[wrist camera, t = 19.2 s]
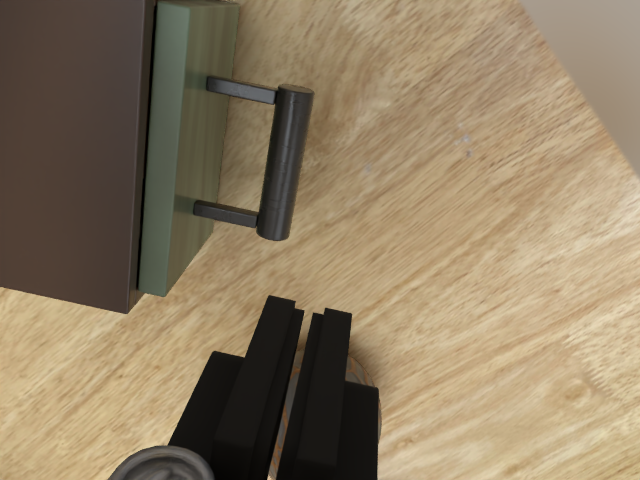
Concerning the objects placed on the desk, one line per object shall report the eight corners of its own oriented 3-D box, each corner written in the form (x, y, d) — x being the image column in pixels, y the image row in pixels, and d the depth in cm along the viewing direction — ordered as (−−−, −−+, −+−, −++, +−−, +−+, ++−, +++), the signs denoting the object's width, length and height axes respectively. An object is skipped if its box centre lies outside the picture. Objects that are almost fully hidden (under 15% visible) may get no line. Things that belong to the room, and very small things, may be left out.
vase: (345, 310, 33) (332, 412, 25) (402, 400, 35) (407, 521, 27) (245, 356, 35) (203, 466, 27) (304, 439, 37) (282, 563, 29)
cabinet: (221, -15, 27) (147, -20, 18) (195, 231, 32) (127, 315, 23) (-83, -77, 27) (-290, -110, 19) (-61, 177, 32) (-218, 240, 24)
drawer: (334, 24, 26) (317, 33, 19) (293, 249, 31) (267, 320, 24) (-48, -55, 26) (-194, -72, 20) (-33, 180, 31) (-147, 230, 24)
